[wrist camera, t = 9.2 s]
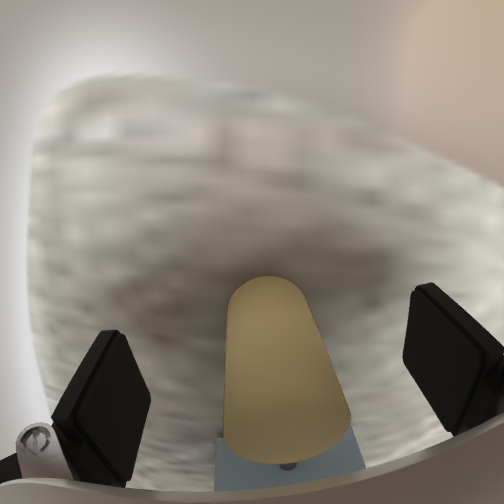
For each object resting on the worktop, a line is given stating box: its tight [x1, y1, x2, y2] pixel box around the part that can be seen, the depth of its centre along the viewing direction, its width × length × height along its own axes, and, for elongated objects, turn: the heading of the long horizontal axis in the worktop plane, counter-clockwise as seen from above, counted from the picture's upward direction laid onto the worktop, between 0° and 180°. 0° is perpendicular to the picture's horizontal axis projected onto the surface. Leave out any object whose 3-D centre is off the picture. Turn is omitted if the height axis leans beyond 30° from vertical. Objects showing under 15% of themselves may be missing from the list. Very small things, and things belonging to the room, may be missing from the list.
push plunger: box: [214, 276, 366, 492], centre depth 11 cm, size 15×7×6 cm, turn 8°
